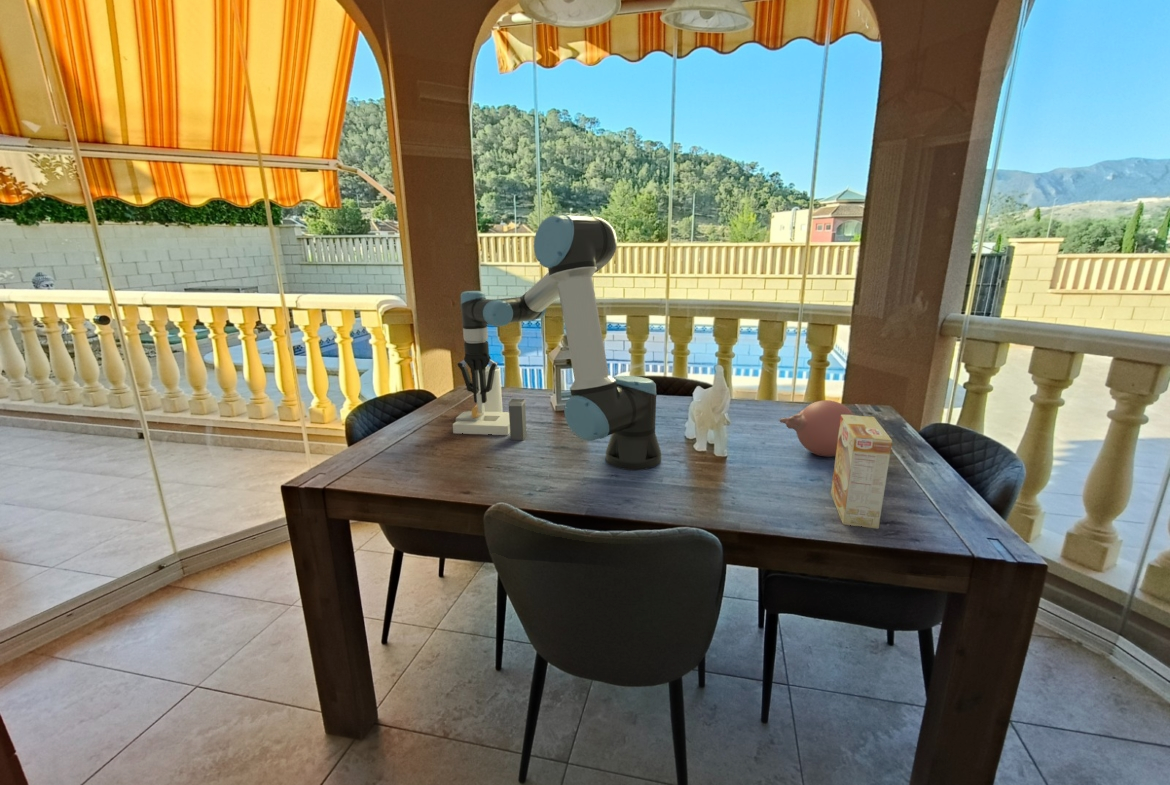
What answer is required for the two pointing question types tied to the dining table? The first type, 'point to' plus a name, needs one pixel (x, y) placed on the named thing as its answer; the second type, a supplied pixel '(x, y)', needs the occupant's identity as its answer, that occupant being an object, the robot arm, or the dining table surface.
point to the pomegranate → (818, 426)
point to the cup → (493, 392)
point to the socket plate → (485, 424)
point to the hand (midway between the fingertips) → (481, 411)
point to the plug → (517, 419)
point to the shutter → (470, 415)
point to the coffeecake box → (860, 470)
